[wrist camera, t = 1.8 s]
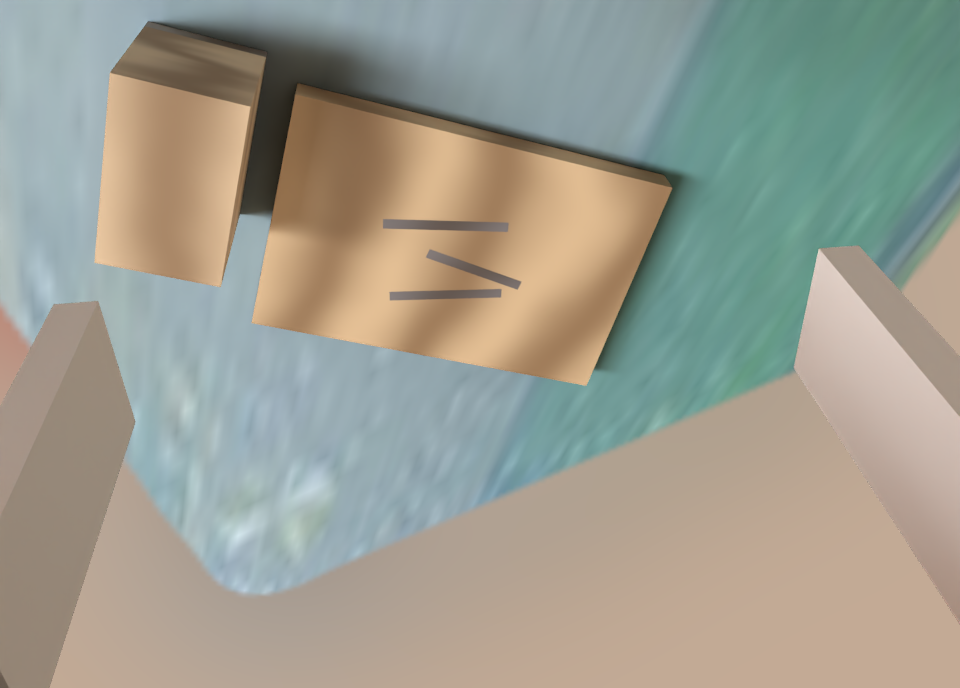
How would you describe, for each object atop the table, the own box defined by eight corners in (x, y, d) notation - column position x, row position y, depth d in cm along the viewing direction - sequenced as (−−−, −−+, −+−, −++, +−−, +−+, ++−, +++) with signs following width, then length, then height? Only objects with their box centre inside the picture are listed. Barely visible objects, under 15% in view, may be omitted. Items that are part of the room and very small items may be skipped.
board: (254, 307, 47) (251, 323, 46) (297, 82, 41) (295, 94, 40) (581, 369, 51) (586, 385, 50) (664, 175, 45) (672, 187, 44)
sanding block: (131, 190, 43) (94, 262, 37) (148, 20, 39) (110, 72, 33) (240, 213, 44) (220, 287, 38) (267, 51, 40) (250, 106, 34)
